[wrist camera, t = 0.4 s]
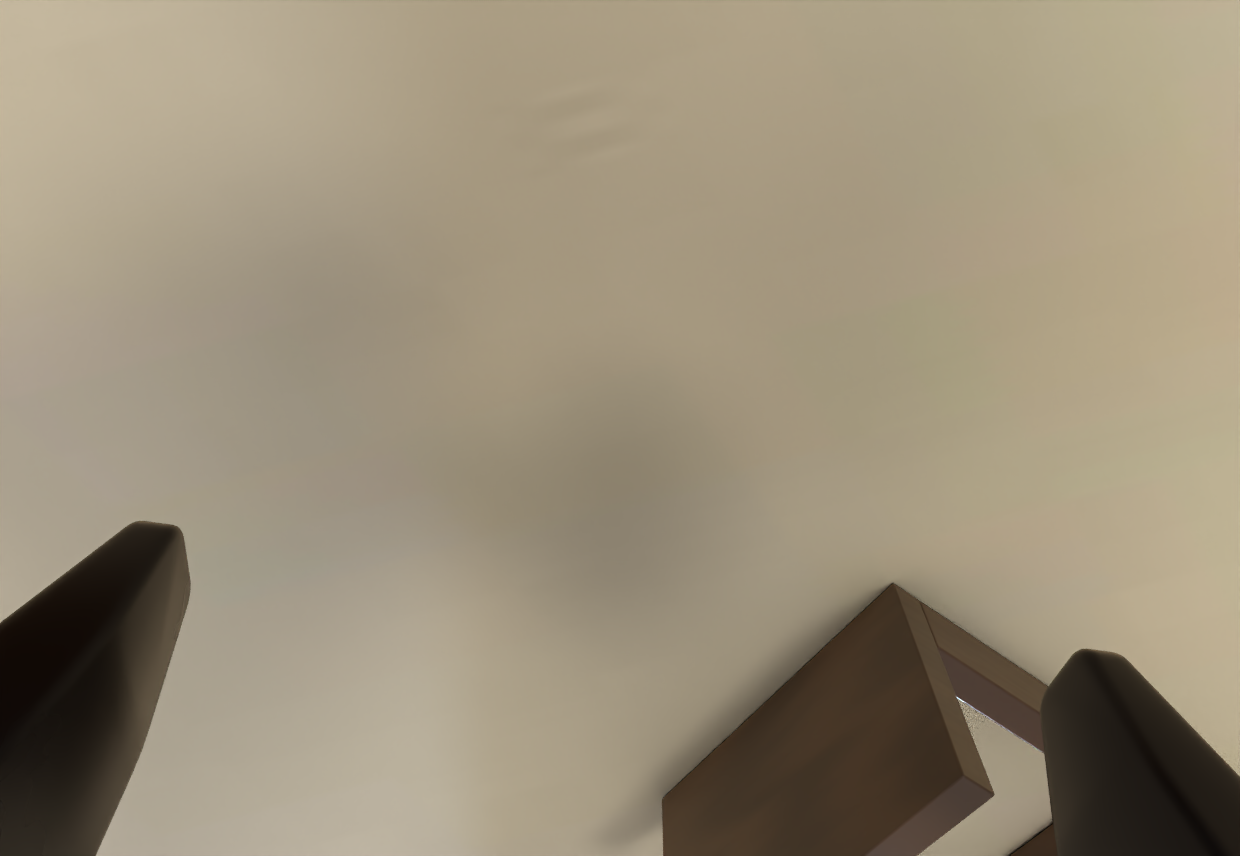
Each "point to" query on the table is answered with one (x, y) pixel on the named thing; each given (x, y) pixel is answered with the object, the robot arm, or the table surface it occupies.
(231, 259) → the table surface
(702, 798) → the cup stand
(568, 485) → the table surface
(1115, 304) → the table surface
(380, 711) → the table surface
